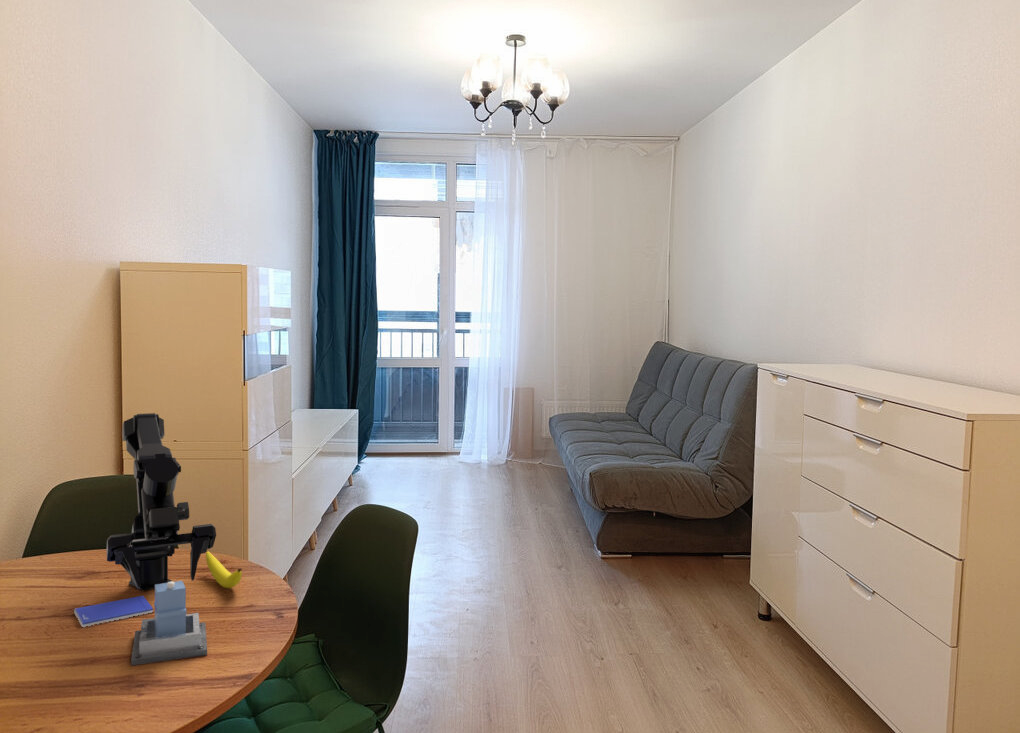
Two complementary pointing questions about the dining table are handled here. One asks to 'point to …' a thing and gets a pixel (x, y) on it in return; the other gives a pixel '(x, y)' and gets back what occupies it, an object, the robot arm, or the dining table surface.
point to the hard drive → (112, 611)
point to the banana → (222, 572)
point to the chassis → (169, 642)
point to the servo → (170, 609)
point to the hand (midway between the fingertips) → (166, 583)
